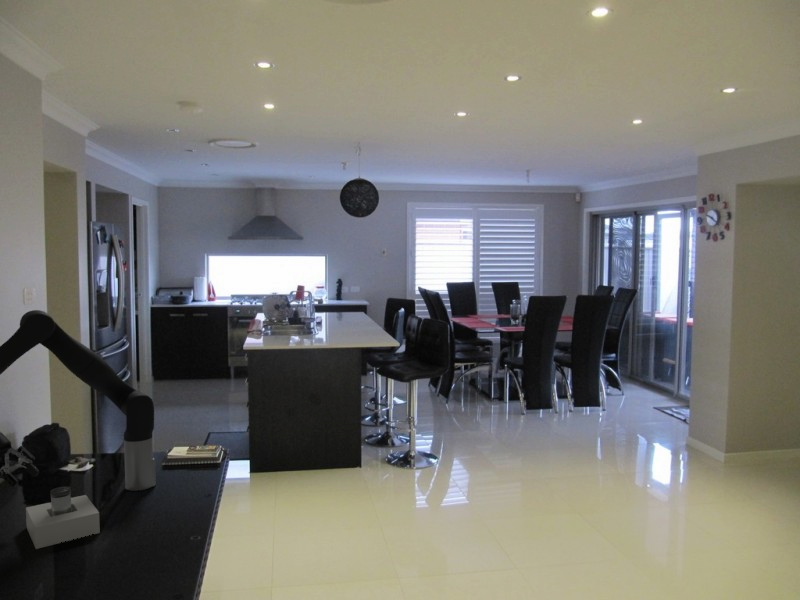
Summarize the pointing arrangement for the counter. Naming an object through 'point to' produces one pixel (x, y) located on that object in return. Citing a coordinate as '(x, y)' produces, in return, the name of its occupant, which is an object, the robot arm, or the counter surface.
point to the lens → (60, 500)
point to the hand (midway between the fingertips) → (26, 479)
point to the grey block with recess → (62, 522)
